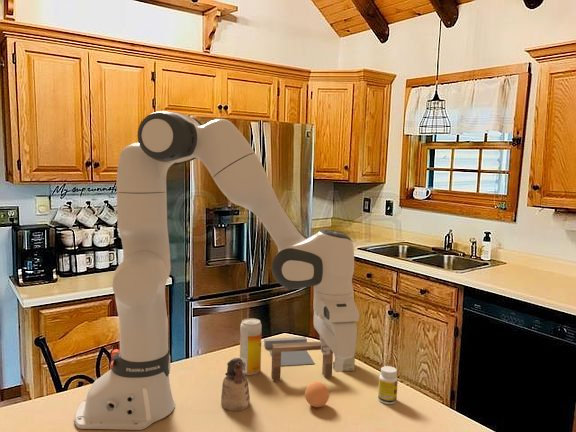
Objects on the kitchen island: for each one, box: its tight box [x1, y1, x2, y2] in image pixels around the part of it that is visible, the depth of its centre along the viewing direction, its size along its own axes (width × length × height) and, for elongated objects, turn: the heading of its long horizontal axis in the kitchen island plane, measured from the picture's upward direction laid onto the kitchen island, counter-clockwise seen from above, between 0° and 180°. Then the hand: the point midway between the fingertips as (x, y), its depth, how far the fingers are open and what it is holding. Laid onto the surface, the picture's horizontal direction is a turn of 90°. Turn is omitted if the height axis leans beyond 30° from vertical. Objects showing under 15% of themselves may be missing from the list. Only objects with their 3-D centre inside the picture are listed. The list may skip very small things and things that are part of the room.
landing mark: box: [268, 349, 315, 367], centre depth 147 cm, size 12×12×1 cm
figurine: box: [220, 357, 251, 412], centre depth 117 cm, size 7×7×12 cm
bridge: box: [270, 341, 334, 382], centre depth 133 cm, size 3×17×10 cm, turn 102°
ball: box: [304, 381, 330, 408], centre depth 118 cm, size 6×6×6 cm
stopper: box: [263, 336, 308, 350], centre depth 156 cm, size 14×2×2 cm, turn 102°
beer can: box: [239, 317, 263, 376], centre depth 136 cm, size 6×6×15 cm
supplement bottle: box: [377, 365, 399, 405], centre depth 122 cm, size 5×5×8 cm
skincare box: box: [343, 353, 356, 372], centre depth 141 cm, size 6×4×12 cm
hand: (331, 361), depth 107 cm, fingers open, 8 cm apart
